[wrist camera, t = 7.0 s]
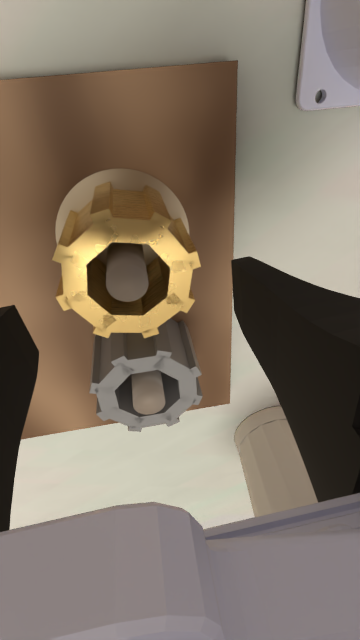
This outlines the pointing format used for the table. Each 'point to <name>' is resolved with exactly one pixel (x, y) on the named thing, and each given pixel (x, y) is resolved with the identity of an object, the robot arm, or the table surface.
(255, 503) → the cup
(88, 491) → the table surface
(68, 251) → the brass gear
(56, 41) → the table surface
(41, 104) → the board
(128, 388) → the grey gear
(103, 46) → the table surface
